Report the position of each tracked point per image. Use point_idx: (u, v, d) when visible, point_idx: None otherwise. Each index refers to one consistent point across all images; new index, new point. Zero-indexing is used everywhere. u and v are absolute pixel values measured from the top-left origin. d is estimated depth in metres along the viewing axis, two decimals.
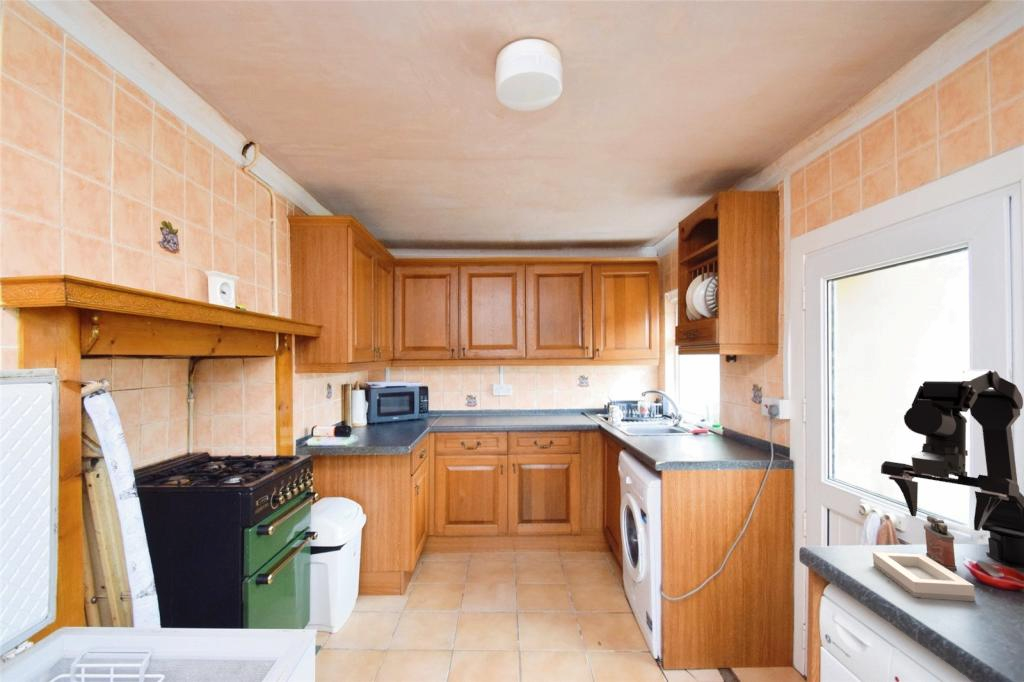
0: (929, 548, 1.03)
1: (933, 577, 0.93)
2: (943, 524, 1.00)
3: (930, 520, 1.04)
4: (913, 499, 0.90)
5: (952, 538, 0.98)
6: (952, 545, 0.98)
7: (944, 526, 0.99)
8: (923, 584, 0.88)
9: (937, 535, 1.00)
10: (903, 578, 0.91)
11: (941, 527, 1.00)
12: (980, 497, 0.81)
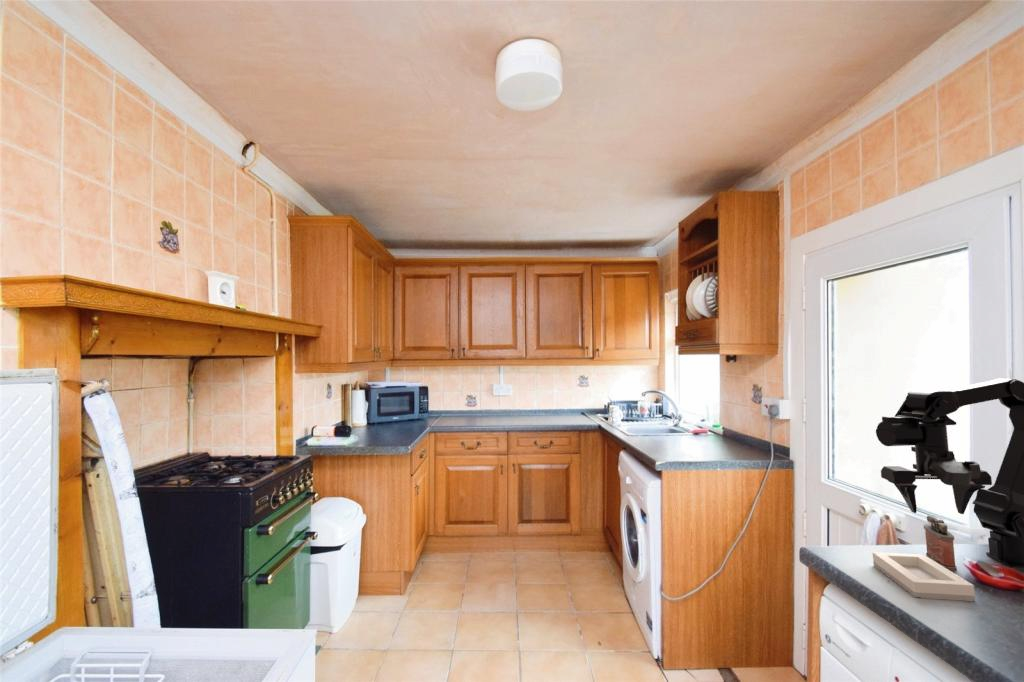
0: (929, 548, 1.03)
1: (933, 577, 0.93)
2: (943, 524, 1.00)
3: (930, 520, 1.04)
4: None
5: (952, 538, 0.98)
6: (952, 545, 0.98)
7: (944, 526, 0.99)
8: (923, 584, 0.88)
9: (937, 535, 1.00)
10: (903, 578, 0.91)
11: (941, 527, 1.00)
12: (971, 489, 0.99)
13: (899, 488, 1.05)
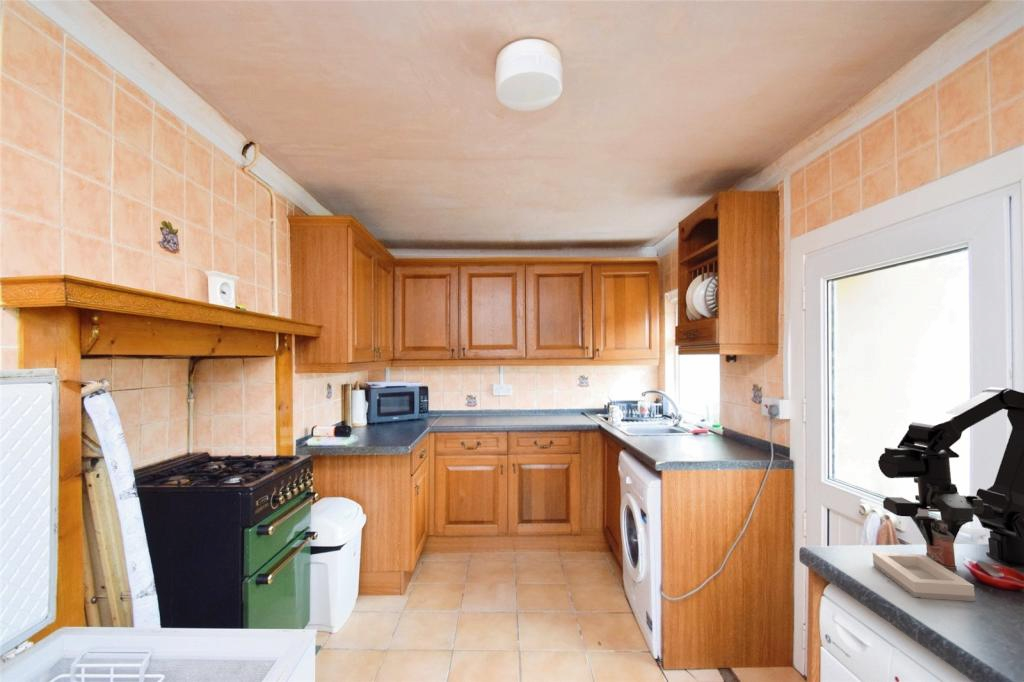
0: (929, 548, 1.03)
1: (933, 577, 0.93)
2: (943, 524, 1.00)
3: None
4: None
5: (952, 538, 0.98)
6: (952, 545, 0.98)
7: (944, 526, 0.99)
8: (923, 584, 0.88)
9: (937, 535, 1.00)
10: (903, 578, 0.91)
11: (941, 527, 1.00)
12: (960, 522, 0.99)
13: (915, 520, 1.04)
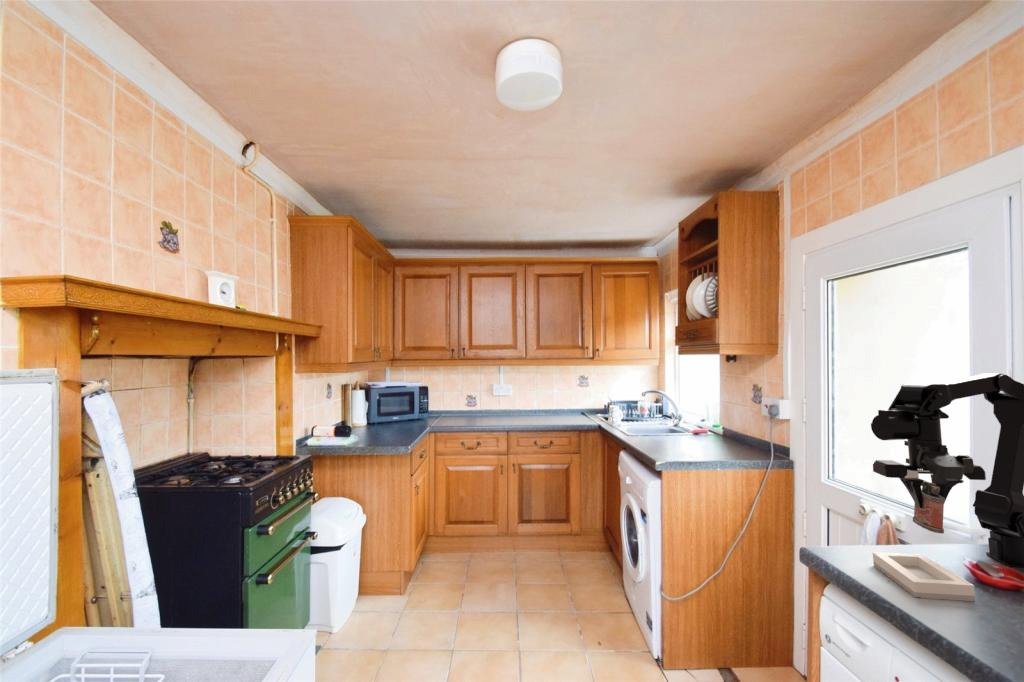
0: (917, 511, 1.02)
1: (933, 577, 0.93)
2: (935, 486, 0.98)
3: (922, 483, 1.02)
4: None
5: (943, 500, 0.97)
6: (942, 507, 0.97)
7: (936, 488, 0.98)
8: (923, 584, 0.88)
9: (928, 497, 0.98)
10: (903, 578, 0.91)
11: (933, 489, 0.98)
12: (950, 484, 0.98)
13: (905, 483, 1.03)
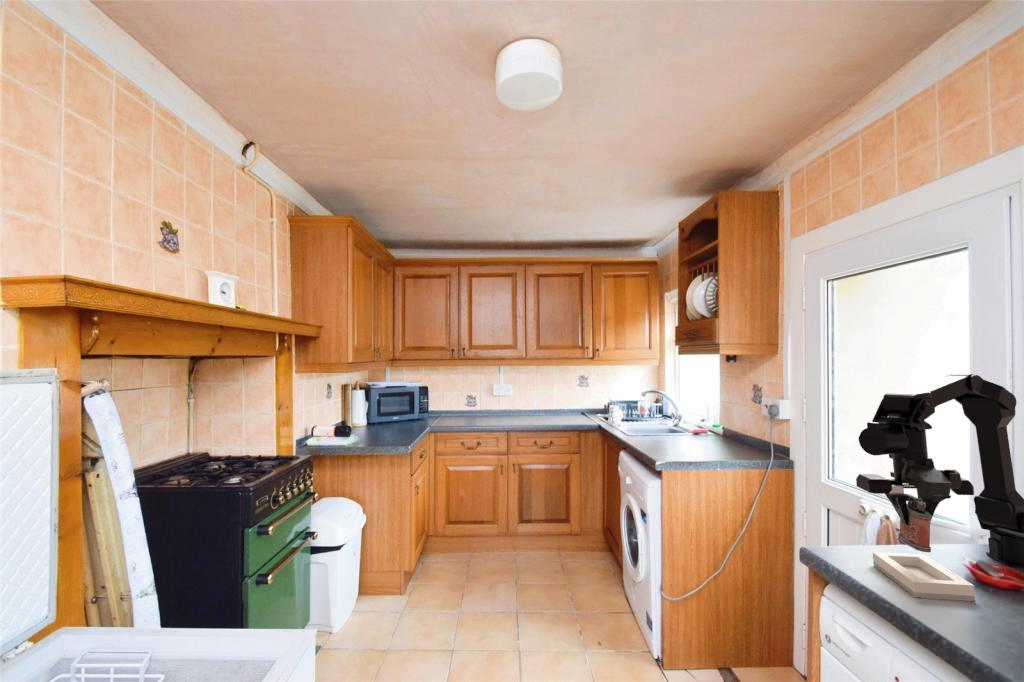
0: (903, 528, 0.96)
1: (933, 577, 0.93)
2: (921, 502, 0.93)
3: None
4: None
5: (930, 517, 0.91)
6: (929, 524, 0.91)
7: (922, 504, 0.92)
8: (923, 584, 0.88)
9: (914, 513, 0.93)
10: (903, 578, 0.91)
11: (919, 505, 0.92)
12: (937, 499, 0.92)
13: (890, 498, 0.97)
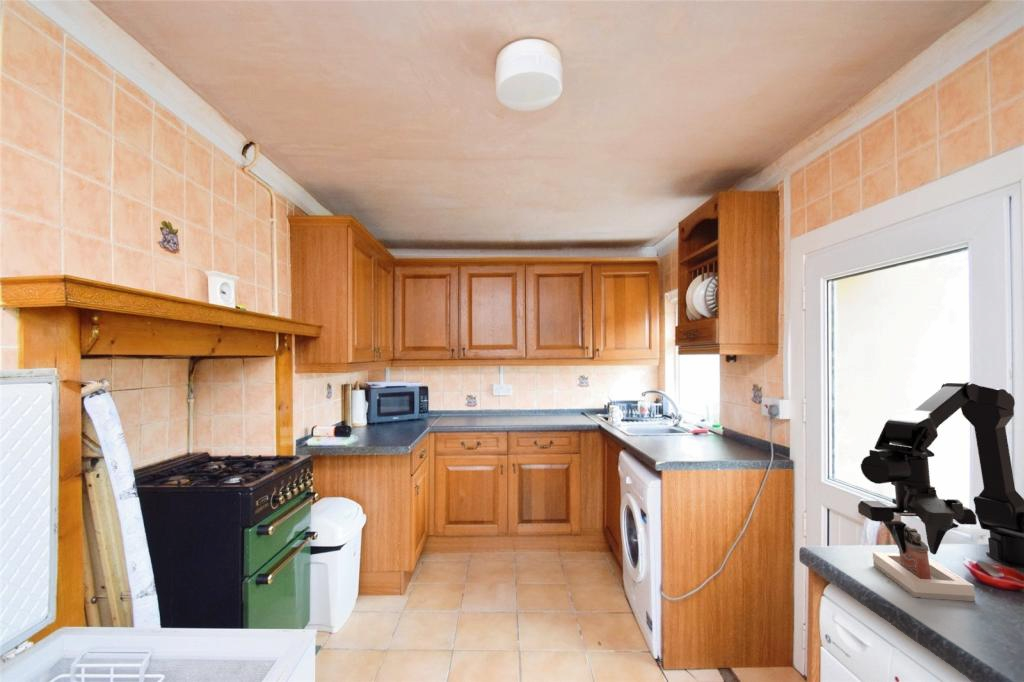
0: (903, 560, 0.96)
1: (933, 577, 0.93)
2: (916, 534, 0.93)
3: None
4: None
5: (926, 549, 0.91)
6: (927, 556, 0.91)
7: (917, 536, 0.92)
8: (923, 584, 0.88)
9: (911, 546, 0.92)
10: (903, 578, 0.91)
11: (914, 537, 0.92)
12: (944, 528, 0.91)
13: (887, 525, 0.97)
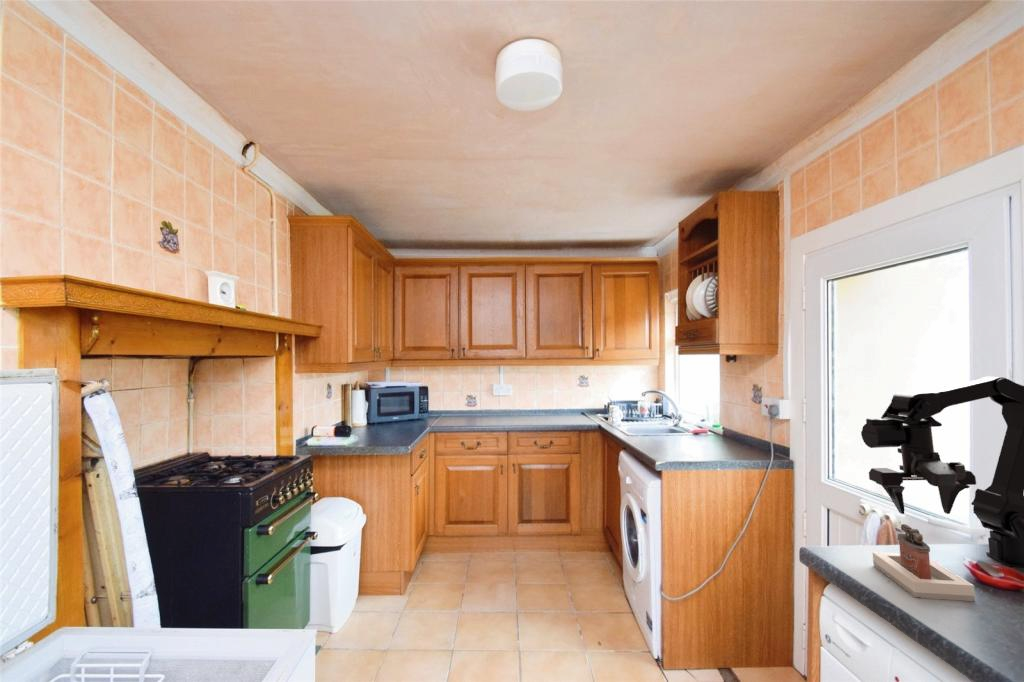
0: (903, 560, 0.96)
1: (933, 577, 0.93)
2: (918, 534, 0.93)
3: (904, 529, 0.96)
4: None
5: (928, 549, 0.91)
6: (928, 557, 0.91)
7: (919, 536, 0.92)
8: (923, 584, 0.88)
9: (912, 547, 0.92)
10: (903, 578, 0.91)
11: (916, 537, 0.92)
12: (957, 489, 1.01)
13: (887, 489, 1.06)
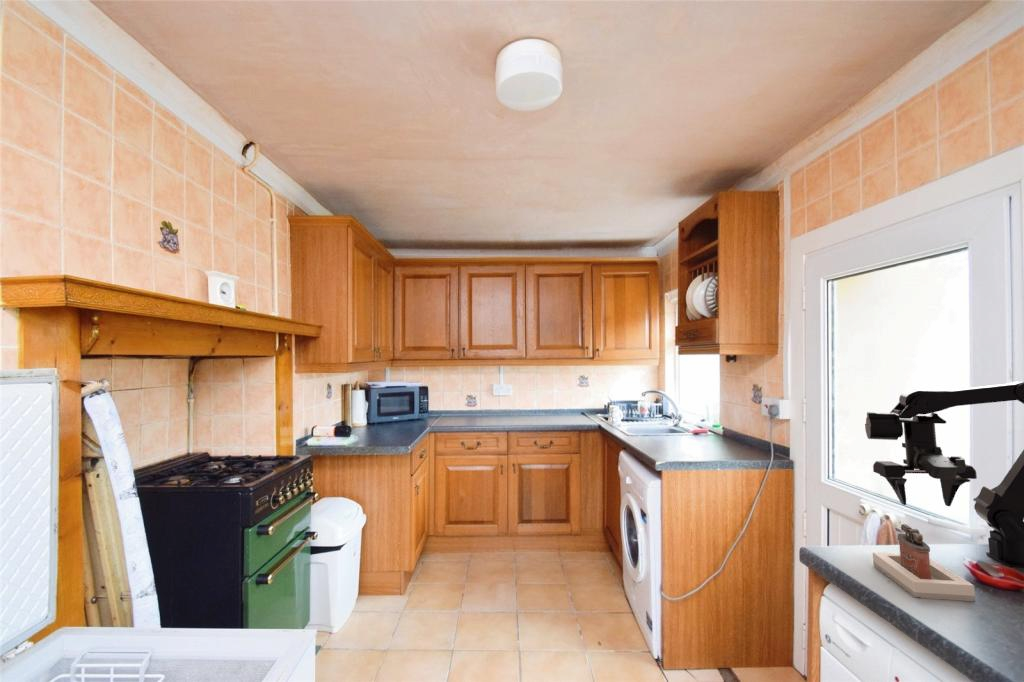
0: (903, 560, 0.96)
1: (933, 577, 0.93)
2: (918, 534, 0.93)
3: (904, 529, 0.96)
4: None
5: (928, 549, 0.91)
6: (928, 557, 0.91)
7: (919, 536, 0.92)
8: (923, 584, 0.88)
9: (912, 547, 0.92)
10: (903, 578, 0.91)
11: (916, 537, 0.92)
12: (958, 483, 1.05)
13: (890, 482, 1.12)
